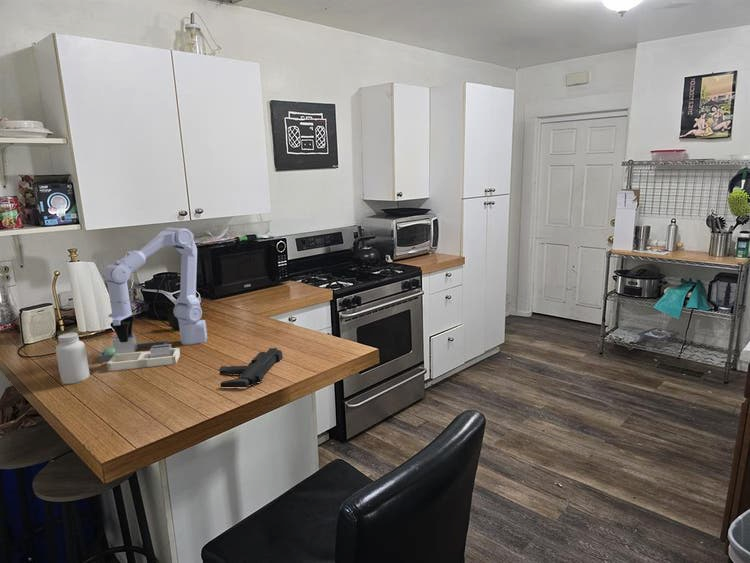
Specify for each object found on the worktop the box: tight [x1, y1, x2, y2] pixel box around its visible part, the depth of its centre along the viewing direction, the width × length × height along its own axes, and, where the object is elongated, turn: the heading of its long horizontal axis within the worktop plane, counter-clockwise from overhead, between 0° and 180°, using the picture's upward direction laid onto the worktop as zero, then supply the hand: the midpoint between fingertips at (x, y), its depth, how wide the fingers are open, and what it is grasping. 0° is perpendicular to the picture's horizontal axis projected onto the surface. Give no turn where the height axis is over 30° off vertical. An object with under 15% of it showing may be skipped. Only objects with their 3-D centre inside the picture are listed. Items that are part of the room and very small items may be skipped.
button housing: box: [98, 349, 114, 364], centre depth 171 cm, size 6×6×3 cm
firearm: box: [217, 347, 284, 388], centre depth 160 cm, size 3×30×20 cm
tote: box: [121, 340, 169, 354], centre depth 175 cm, size 14×12×2 cm
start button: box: [103, 346, 115, 355], centre depth 171 cm, size 4×4×3 cm
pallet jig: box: [106, 347, 181, 372], centre depth 165 cm, size 21×9×4 cm, turn 103°
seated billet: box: [149, 343, 173, 358], centre depth 166 cm, size 4×6×5 cm, turn 103°
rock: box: [166, 307, 202, 330], centre depth 203 cm, size 13×4×10 cm, turn 91°
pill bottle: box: [55, 331, 91, 385], centre depth 154 cm, size 8×8×15 cm
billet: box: [112, 333, 139, 354], centre depth 165 cm, size 4×6×5 cm, turn 102°
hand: (125, 339), depth 165 cm, fingers closed on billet, 4 cm apart
